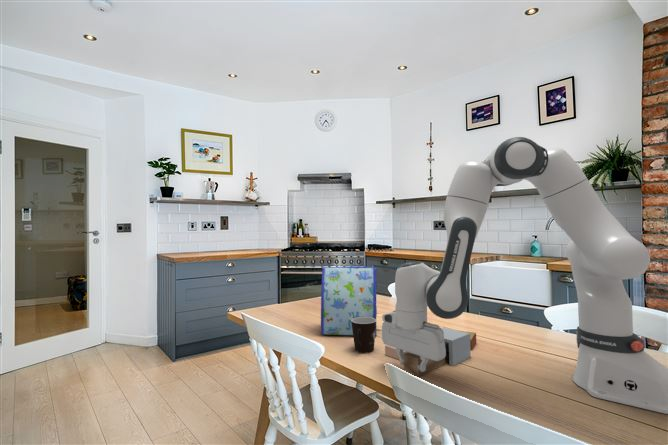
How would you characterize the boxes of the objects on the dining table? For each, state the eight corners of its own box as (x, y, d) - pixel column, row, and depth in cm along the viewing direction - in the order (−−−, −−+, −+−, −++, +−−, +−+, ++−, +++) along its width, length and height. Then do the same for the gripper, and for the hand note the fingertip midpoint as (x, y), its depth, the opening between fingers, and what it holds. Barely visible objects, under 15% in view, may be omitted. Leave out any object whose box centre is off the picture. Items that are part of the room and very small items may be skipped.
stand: (420, 355, 115) (420, 346, 115) (404, 361, 110) (404, 352, 110) (401, 349, 121) (400, 340, 121) (385, 354, 116) (384, 345, 116)
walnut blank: (444, 364, 107) (444, 347, 107) (418, 376, 99) (417, 358, 99) (430, 359, 111) (430, 343, 111) (404, 371, 103) (403, 354, 103)
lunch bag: (377, 325, 150) (376, 263, 150) (378, 338, 133) (376, 268, 133) (325, 325, 152) (323, 264, 152) (319, 337, 135) (318, 269, 136)
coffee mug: (363, 343, 127) (362, 315, 127) (382, 349, 121) (381, 319, 121) (340, 352, 119) (339, 322, 119) (359, 358, 113) (358, 327, 113)
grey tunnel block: (470, 357, 112) (470, 333, 112) (452, 365, 106) (452, 340, 106) (444, 349, 119) (444, 327, 119) (426, 357, 113) (425, 333, 113)
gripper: (449, 323, 95) (451, 375, 95) (391, 310, 111) (392, 355, 111) (436, 328, 91) (437, 382, 91) (377, 314, 107) (378, 360, 107)
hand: (412, 367), depth 101 cm, fingers closed on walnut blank, 5 cm apart
